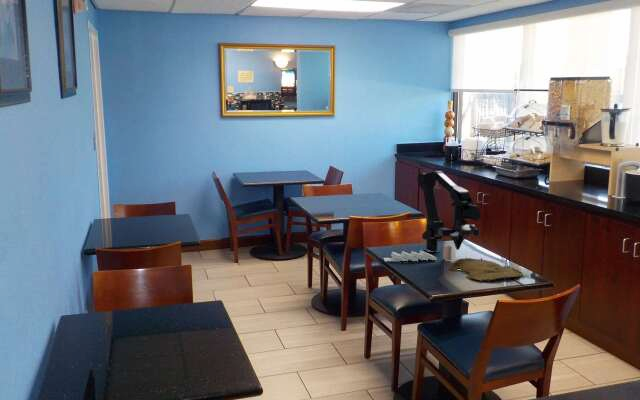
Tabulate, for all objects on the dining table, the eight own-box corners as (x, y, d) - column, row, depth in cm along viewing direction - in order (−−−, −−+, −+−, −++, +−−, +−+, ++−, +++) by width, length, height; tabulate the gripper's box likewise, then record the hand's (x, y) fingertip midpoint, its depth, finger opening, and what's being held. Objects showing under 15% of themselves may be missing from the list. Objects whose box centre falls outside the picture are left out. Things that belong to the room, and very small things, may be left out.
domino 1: (398, 261, 269) (383, 261, 269) (398, 257, 269) (383, 257, 268) (400, 264, 265) (385, 264, 264) (400, 260, 265) (385, 260, 264)
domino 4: (422, 259, 272) (410, 254, 270) (424, 256, 272) (411, 250, 270) (426, 262, 268) (414, 256, 266) (428, 258, 267) (415, 253, 266)
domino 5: (431, 259, 273) (418, 253, 271) (432, 255, 273) (420, 250, 271) (435, 261, 269) (422, 255, 267) (436, 258, 269) (424, 252, 267)
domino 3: (413, 260, 270) (400, 254, 269) (415, 256, 270) (402, 250, 269) (416, 262, 266) (403, 256, 264) (418, 259, 265) (405, 253, 264)
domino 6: (443, 259, 273) (443, 244, 272) (446, 259, 274) (447, 244, 272) (447, 261, 269) (448, 247, 268) (450, 261, 269) (451, 247, 268)
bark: (537, 270, 246) (481, 277, 234) (536, 278, 247) (481, 286, 234) (492, 254, 271) (440, 260, 258) (492, 262, 271) (439, 268, 259)
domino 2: (404, 260, 270) (390, 255, 269) (406, 256, 270) (392, 251, 269) (406, 262, 265) (392, 257, 265) (408, 258, 265) (394, 253, 264)
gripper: (448, 220, 260) (446, 254, 263) (486, 219, 264) (484, 253, 267) (438, 216, 271) (436, 248, 273) (474, 215, 275) (472, 247, 278)
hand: (457, 249), depth 272 cm, fingers closed
